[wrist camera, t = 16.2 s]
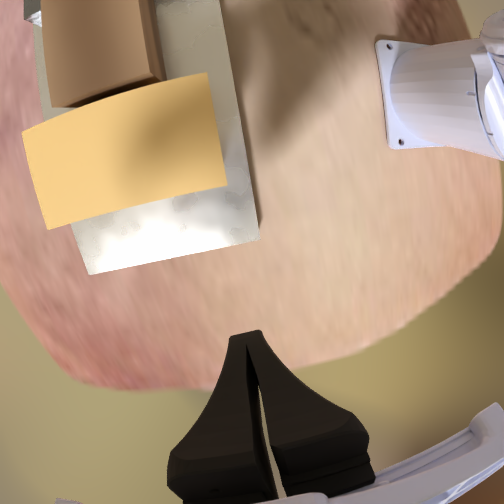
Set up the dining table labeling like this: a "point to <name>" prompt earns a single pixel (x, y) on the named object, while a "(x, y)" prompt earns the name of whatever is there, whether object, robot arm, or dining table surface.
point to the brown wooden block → (99, 49)
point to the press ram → (126, 151)
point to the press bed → (188, 205)
